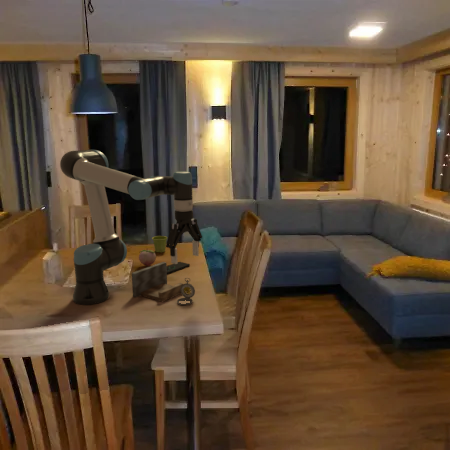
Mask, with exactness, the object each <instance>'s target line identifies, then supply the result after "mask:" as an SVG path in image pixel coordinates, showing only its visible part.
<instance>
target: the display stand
mask: <svg viewBox="0 0 450 450" xmlns="http://www.w3.org/2000/svg"><path fill="white" fill-rule="evenodd" d="M167 266H168V265H167V262H166V261H161V262H159V263H156V264H152V265H150V266H146V267H145V268H141V269H139V270H136V271H134V272H131V284H132V285H131V286H132V297H133V298H138V297H141V296H142V297H145V298H147V299H152V300H154V301H159V302H161V303H162V301H163V302H165V301H167V300H169V299H171V297H172V298H173V296H174V297H176V296H178V295H180V294H181V291H180V289H181V286H182V285H183V284H184V283H183V282H179V283H177V284H174V285H170V284H168V275H167Z"/></svg>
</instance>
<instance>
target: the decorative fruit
mask: <svg viewBox="0 0 450 450" xmlns="http://www.w3.org/2000/svg"><path fill="white" fill-rule="evenodd" d="M156 256H157V255H156V252H155V250H152V249H142V250H140V251H139V255H138V260H139V262H140V263H141V264H143V265H144V266H146V267H150V266H152V265H154V264H155V262H156Z"/></svg>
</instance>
